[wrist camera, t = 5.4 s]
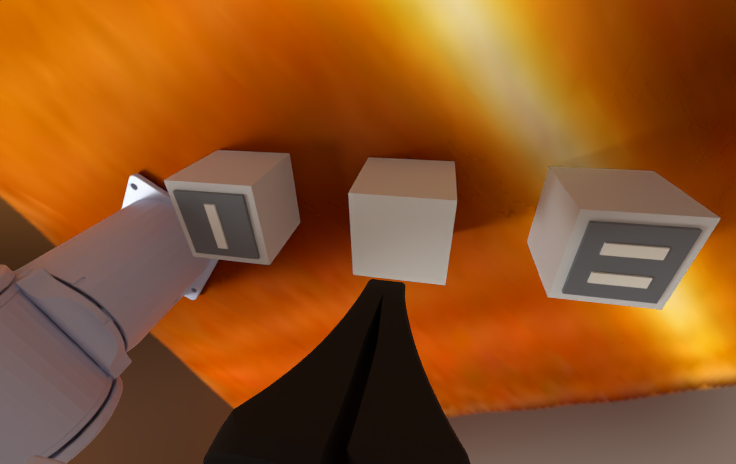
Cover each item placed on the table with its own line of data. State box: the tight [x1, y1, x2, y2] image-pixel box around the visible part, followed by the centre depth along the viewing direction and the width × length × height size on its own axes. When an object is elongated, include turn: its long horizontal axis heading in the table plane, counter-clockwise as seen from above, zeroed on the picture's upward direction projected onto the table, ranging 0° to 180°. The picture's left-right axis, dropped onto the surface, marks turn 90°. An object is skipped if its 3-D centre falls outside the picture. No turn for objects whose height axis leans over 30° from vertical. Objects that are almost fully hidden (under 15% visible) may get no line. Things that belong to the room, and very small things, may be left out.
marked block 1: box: [164, 150, 300, 265], centre depth 20 cm, size 5×5×5 cm
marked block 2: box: [527, 166, 721, 310], centre depth 16 cm, size 5×5×5 cm
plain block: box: [348, 157, 457, 285], centre depth 18 cm, size 5×5×5 cm
